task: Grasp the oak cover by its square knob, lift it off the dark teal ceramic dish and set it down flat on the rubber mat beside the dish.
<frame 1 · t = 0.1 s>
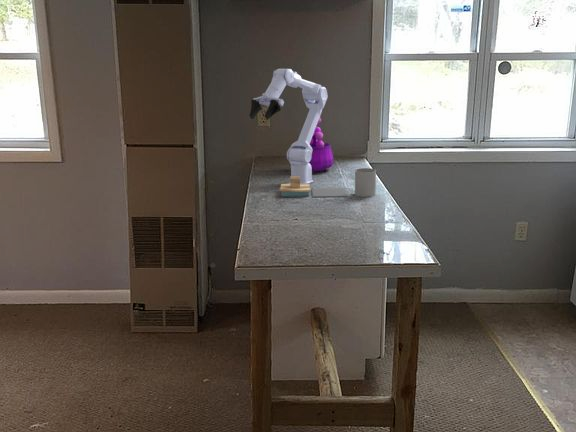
hand: (258, 117, 241), 32 cm above the table, tool tilted 50°, fingers open, 7 cm apart
oak cover: (295, 188, 254), point 2 cm above the table, touching teal dish
teal dish: (295, 193, 254), on the table
cup: (365, 194, 251), on the table
decorative plant: (314, 170, 299), on the table
rubber mat: (329, 192, 254), on the table
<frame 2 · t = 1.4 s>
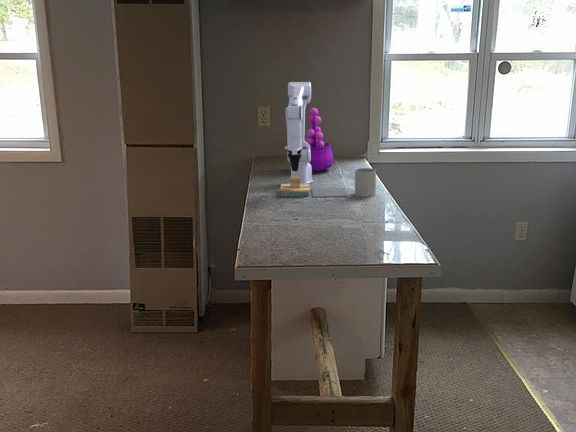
hand: (294, 169, 252), 10 cm above the table, tool pointing down, fingers open, 7 cm apart
nothing on the table moved.
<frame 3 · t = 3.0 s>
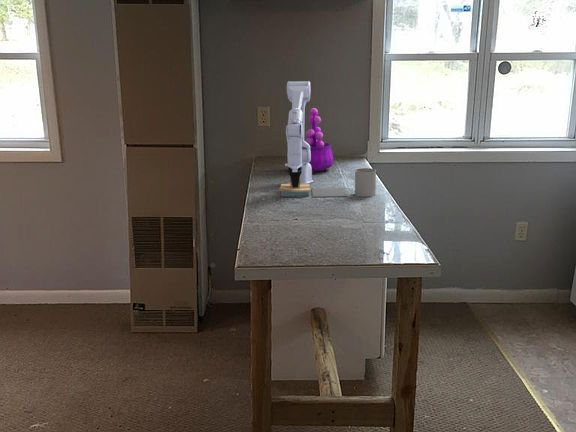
hand: (295, 185, 253), 3 cm above the table, tool pointing down, fingers closed on oak cover, 4 cm apart
oak cover: (295, 188, 254), point 2 cm above the table, touching gripper, teal dish
everything else where it was.
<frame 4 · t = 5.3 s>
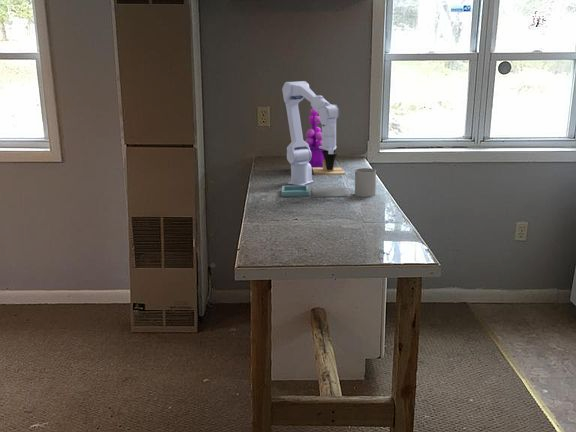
hand: (329, 168, 251), 10 cm above the table, tool pointing down, fingers closed on oak cover, 4 cm apart
oak cover: (328, 172, 252), point 9 cm above the table, touching gripper
everything else where it was.
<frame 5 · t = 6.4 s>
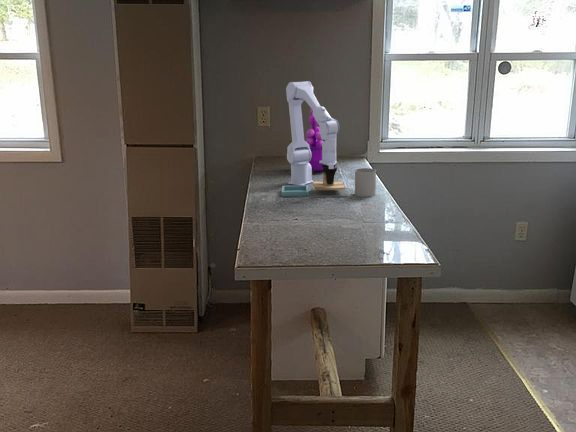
hand: (329, 182, 253), 4 cm above the table, tool pointing down, fingers closed on oak cover, 4 cm apart
oak cover: (328, 186, 253), point 3 cm above the table, touching gripper
everything else where it was.
when the fingers open (3 cm above the table, at t = 7.4 s): oak cover drops 2 cm, resting on rubber mat.
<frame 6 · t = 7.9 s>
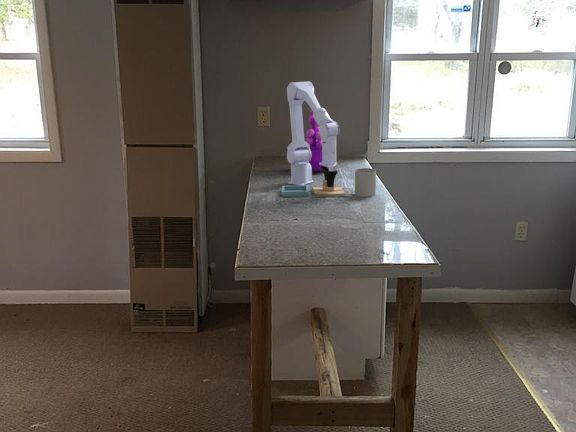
hand: (329, 184, 253), 3 cm above the table, tool pointing down, fingers open, 7 cm apart
oak cover: (328, 192, 254), resting on rubber mat
everything else where it was.
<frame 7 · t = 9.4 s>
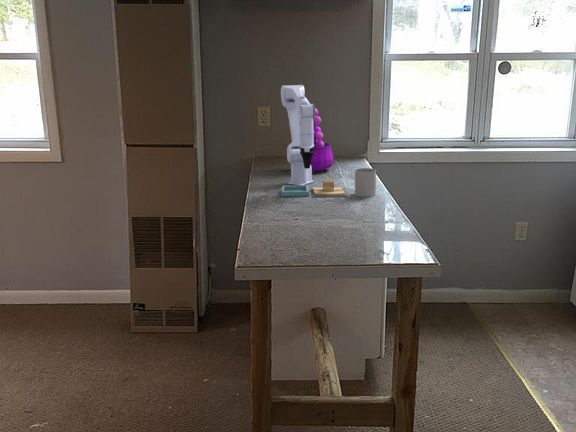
hand: (307, 166, 256), 10 cm above the table, tool pointing down, fingers open, 7 cm apart
nothing on the table moved.
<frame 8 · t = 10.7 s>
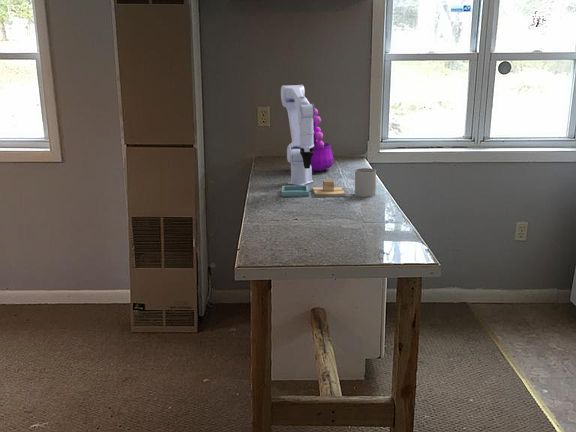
hand: (306, 166, 256), 10 cm above the table, tool pointing down, fingers open, 7 cm apart
nothing on the table moved.
at the end: oak cover inside the target area on the rubber mat (0.4 cm from its centre), point 0.4 cm above the rubber mat's base; oak cover tilted 0°; the gripper is holding nothing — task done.
